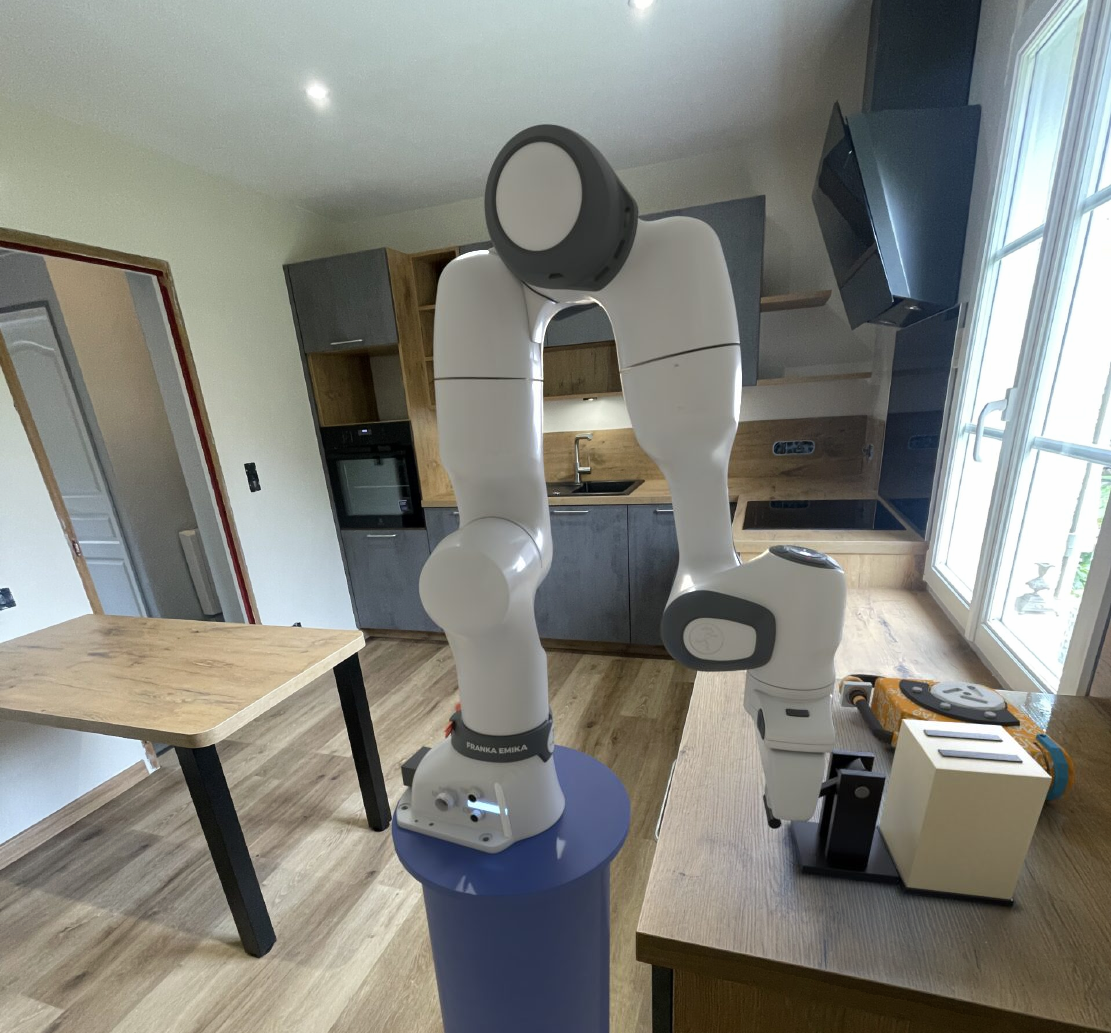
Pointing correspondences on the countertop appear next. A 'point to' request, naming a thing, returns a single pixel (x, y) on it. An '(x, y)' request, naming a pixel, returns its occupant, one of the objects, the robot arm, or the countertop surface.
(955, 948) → the countertop surface
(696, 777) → the countertop surface
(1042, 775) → the toaster
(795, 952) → the countertop surface
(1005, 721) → the device
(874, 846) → the lever bracket
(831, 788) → the lever
